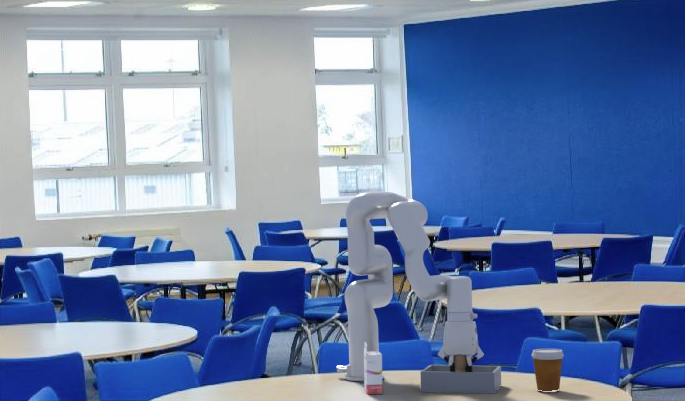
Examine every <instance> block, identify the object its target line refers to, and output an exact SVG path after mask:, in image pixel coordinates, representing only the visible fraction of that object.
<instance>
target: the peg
mask: <svg viewBox="0 0 685 401" xmlns="http://www.w3.org/2000/svg"><path fill="white" fill-rule="evenodd" d="M467 364H468V362H467V357H466V356H464V355H461V354H458V355H454V369H455V372H466V366H467Z"/></svg>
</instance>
